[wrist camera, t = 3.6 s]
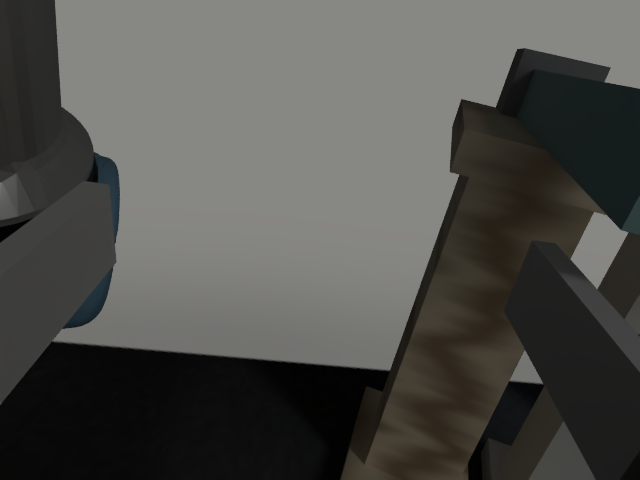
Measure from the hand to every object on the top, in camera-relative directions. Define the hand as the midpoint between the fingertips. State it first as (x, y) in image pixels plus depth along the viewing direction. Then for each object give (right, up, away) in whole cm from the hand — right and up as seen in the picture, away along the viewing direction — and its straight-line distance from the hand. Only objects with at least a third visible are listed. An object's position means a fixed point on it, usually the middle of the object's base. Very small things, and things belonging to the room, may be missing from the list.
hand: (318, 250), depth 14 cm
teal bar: (+12, +5, +7) cm, 14 cm away
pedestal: (+7, -20, +24) cm, 32 cm away
